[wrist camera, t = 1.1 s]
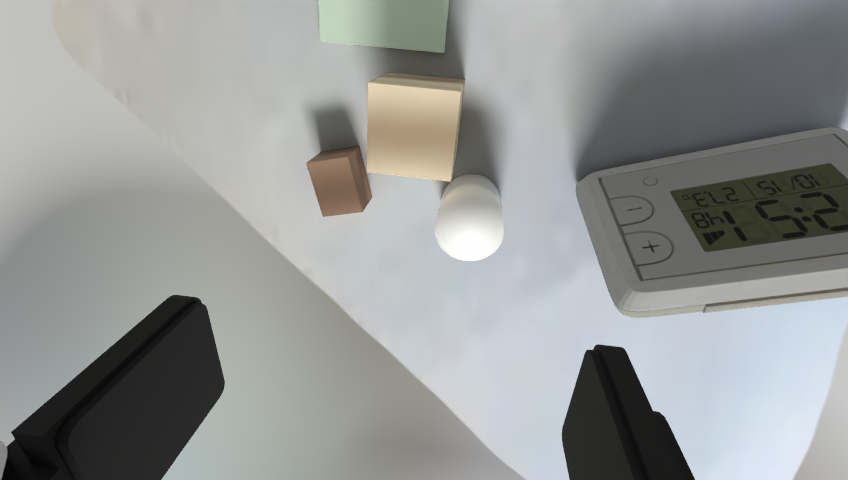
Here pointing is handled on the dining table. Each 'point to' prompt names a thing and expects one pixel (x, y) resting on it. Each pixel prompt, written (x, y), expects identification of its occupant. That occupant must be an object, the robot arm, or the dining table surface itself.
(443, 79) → the beech block
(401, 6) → the felt pad
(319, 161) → the walnut box
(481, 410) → the dining table surface
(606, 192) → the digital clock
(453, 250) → the white capsule
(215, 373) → the robot arm
